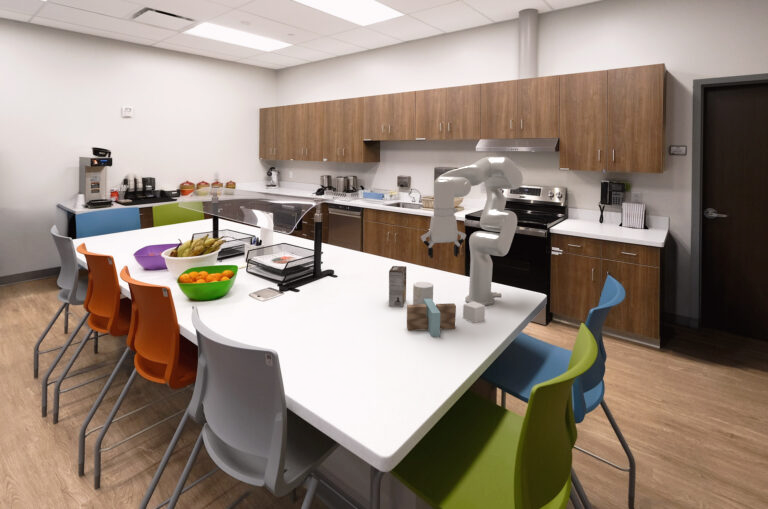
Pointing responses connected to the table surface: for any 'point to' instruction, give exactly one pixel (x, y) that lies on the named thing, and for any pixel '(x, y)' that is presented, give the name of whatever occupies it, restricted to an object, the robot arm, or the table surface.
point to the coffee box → (397, 286)
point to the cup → (422, 292)
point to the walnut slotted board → (420, 320)
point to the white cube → (473, 311)
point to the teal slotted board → (433, 318)
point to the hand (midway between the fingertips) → (443, 256)
